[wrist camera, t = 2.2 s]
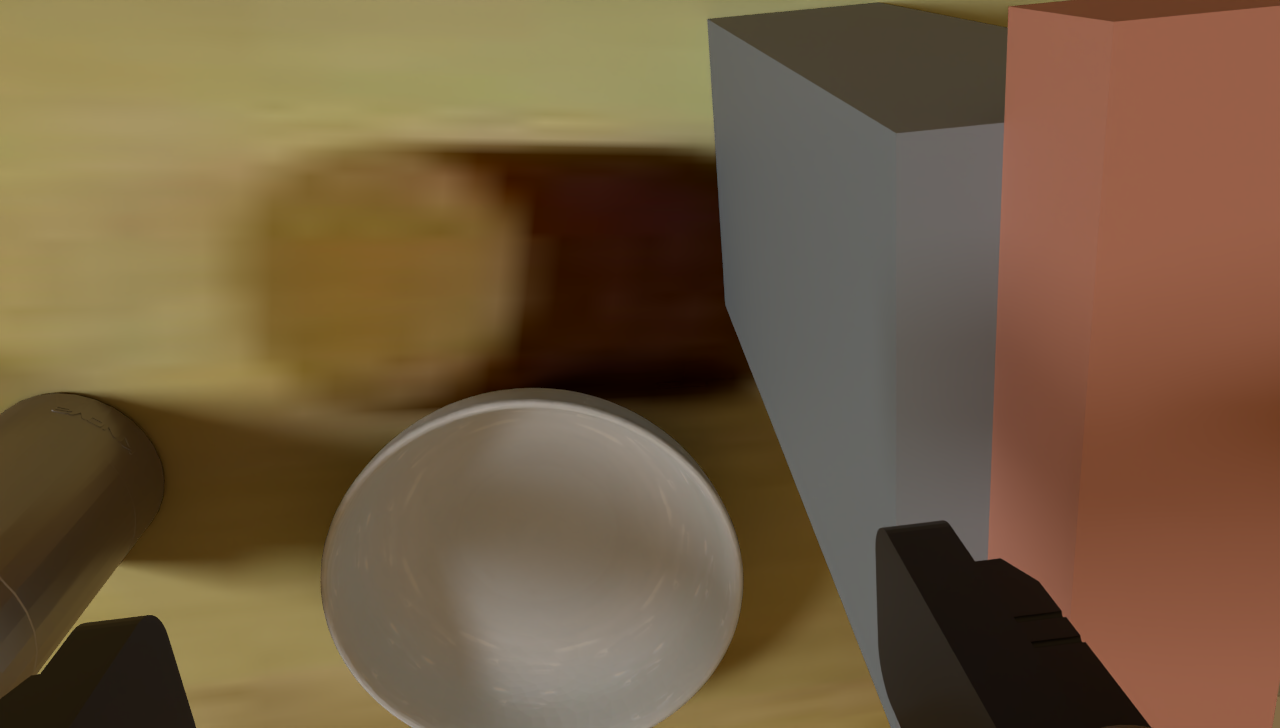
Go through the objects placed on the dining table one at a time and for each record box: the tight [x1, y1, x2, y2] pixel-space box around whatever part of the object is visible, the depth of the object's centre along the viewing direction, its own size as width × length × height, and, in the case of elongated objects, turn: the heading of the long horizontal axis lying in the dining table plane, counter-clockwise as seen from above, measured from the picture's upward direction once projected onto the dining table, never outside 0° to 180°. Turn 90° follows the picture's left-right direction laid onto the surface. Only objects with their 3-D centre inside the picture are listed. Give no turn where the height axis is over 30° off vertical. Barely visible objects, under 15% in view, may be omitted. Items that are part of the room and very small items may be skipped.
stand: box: [708, 2, 1280, 728], centre depth 39 cm, size 23×18×32 cm
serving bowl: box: [321, 388, 743, 728], centre depth 55 cm, size 21×21×7 cm
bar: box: [988, 0, 1280, 728], centre depth 22 cm, size 26×4×4 cm, turn 5°
